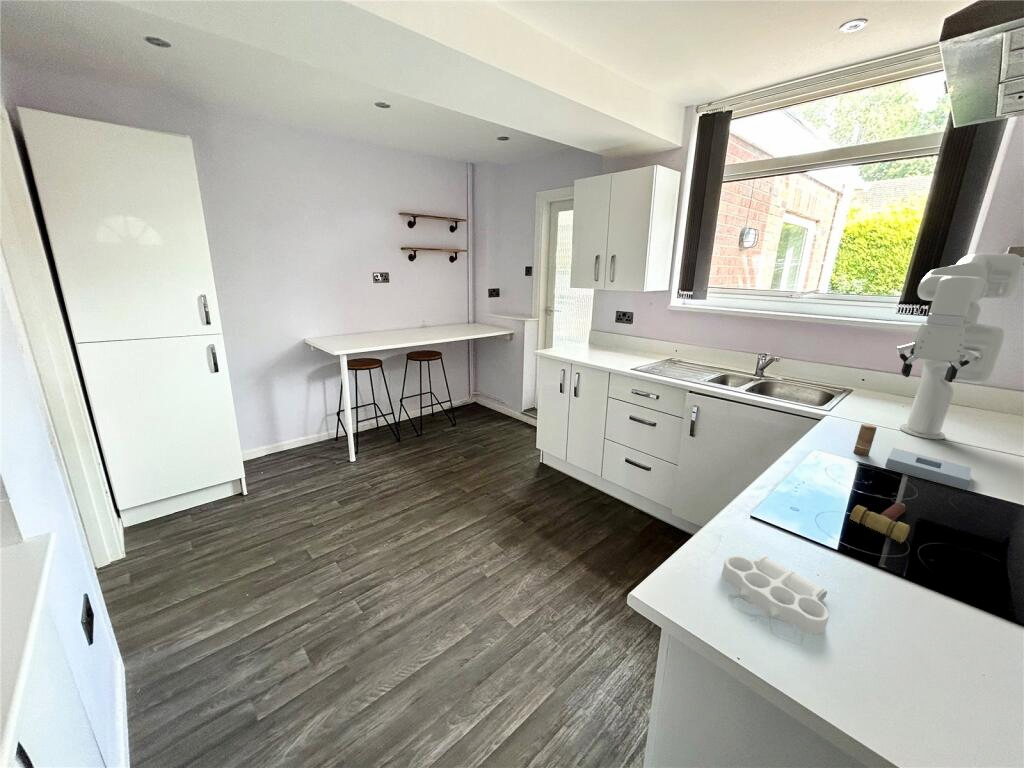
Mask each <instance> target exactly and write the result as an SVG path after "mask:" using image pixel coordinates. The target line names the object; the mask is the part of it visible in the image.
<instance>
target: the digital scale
mask: <svg viewBox="0 0 1024 768" xmlns="http://www.w3.org/2000/svg"><path fill="white" fill-rule="evenodd" d="M885 466H886V467H885V468H888V467H889V468H888V469H891V468H892V470H896V471H899V472H902V473H906V474H910V475H912V476H916V477H920V478H924V479H927V480H931V481H934V482H938V483H940V484H945V485H949V486H952V487H955V488H958V489H962V490H965V491H966V490H968V486H969V484H970V480H971V472H972V471H971V469H972V467H970V466H966V465H962V464H958V463H954V462H951V461H946V460H944V459H943V460H942V459H938V458H934V457H931V456H928V455H923V454H919V453H916V452H912V451H907V450H904V449H900V448H896V447H893V448H892V450H891V451H890V453H889V455H888V457H887V460H886V463H885Z"/></svg>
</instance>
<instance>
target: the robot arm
mask: <svg viewBox="0 0 1024 768" xmlns="http://www.w3.org/2000/svg"><path fill="white" fill-rule="evenodd" d="M1023 270H1024V260H1023V258H1022V257H1021V256H1020V255H1019V254H1016V253H987V252H986V253H972V254H968V255H965V256H964V257H962V258H960V259H959V260H958V261H957V262H956V264H954V265H949V266H943V267H939V268H938V267H937V268H935V269H931V270H930V271H929V272H927V273H926V274H925V276H924V277H923V278H921V280H920V283H919V284H918V287H917V296H918V298H920V299H921V300H923V301H928V302H929V301H932V302H931V307H930V309H929V312H928V316H927V318H926V322H925V323H921V324H920V325H919V328H918V330H917V331H916V333H915V335H914V338H913V340H912V342H911V343H908V344H904V345H900V346H897V347H896V352H897V355H898V357H899V358H900V359H901V360H902V362H903V364H902V367H901V371H900V372H901V375H902V376H903V377H905V378H909V377H910V375H911V371H912V369H913V362H915V361H916V360H923V362H922V367H921V369H922V370H921V377H920V380H919V384H918V387H917V391H916V394H915V398H914V400H913V404H912V406H911V410H910V412H909V416H908V418H907V422H906V424H905V423H903V424H900V426H899V429H900V430H901V431H902V432H904V433H906V434H909V435H912V436H915V437H919V438H922V439H923V438H924V439H927V440H944V439H945V438H946V434H945V433H944V432H942V430H943V429H942V428H943V425H944V422H945V419H946V417H947V414H948V412H949V408H950V406H951V402H952V399H953V396H954V394H955V393H954V388H953V387H952V385H951V384H950V383H953V381H957V382H962V383H963V382H964V383H970V384H978V385H979V384H980V385H982V384H986V382H988V380H989V379H990V377H991V376H992V374H993V371H994V368H995V366H996V364H997V363H996V362H997V360H998V357H999V354H1000V351H1001V349H1002V346H1003V343H1004V339H1005V338H1004V337H1005V332H1004V331H1005V330H1004V329H1003V328H1002V327H1000V326H997V325H992V324H991V325H990V324H981V323H978V320H979V316H980V314H981V311H982V310H981V306H980V305H979V301H981V299H983V298H984V299H985V298H986V299H988V298H989V299H1007V298H1009V297H1011V296H1013V294H1014V293H1015V292H1016V291H1017V290H1018V287H1019V284H1020V281H1021V277H1022V274H1023ZM907 350H909V351H908V355H906V354H905V351H907ZM973 352H974V353H973ZM975 353H976V354H978V355H976V354H975Z"/></svg>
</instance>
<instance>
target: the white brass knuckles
mask: <svg viewBox="0 0 1024 768" xmlns="http://www.w3.org/2000/svg"><path fill="white" fill-rule="evenodd" d="M736 569H737V570H736ZM721 572H722V573H721V574H722V578H723V579H724V581H726V582H727V583H730V584H731V585H732V586H733V587H735V588H736V589H737V591H738V592H739V595H740V596H742V597H743V598H744V599H745V600H746V601H747V602H749V603H751V604H753V605H756V606H758V607H759V608H760V609H762V610H763V611H764V612H765V614H766V615H769V616H770V617H773V618H774V619H777V620H779V621H782V622H783V621H784V622H787V623H790V624H791V625H794V626H795V627H797V628H798V629H799V630H800V631H801V632H804V633H806V634H809V635H810V633H811V635H821V634H820V633H822V634H823V633H825V630H826V628H827V624H828V623H829V617H830V614H829V611H828V609H827V607H826V606H825V605H824V604H823V603H822V602H823V601H824V600H825V598H826V597H827V594H828V590H826V589H825V588H823V587H821V586H819V585H817V584H815V583H814V582H812V581H811V580H809V579H807V578H805V577H804V576H801V575H800V574H798V573H797V572H795V571H793V570H792V569H789V568H787V567H785V565H782V564H780V563H779V562H776V561H775V560H773V559H771V558H770V557H768V556H767V555H764V554H761V555H759V556H758V557H757V558H755V559H749V558H746V557H744V556H740V555H739V556H738V555H729V556H727V557H726V558H725V559H724V562H723V568H722V571H721ZM781 602H782V603H781ZM783 603H784V604H783Z"/></svg>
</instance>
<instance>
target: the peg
mask: <svg viewBox="0 0 1024 768" xmlns="http://www.w3.org/2000/svg"><path fill="white" fill-rule="evenodd" d="M876 432H877V426H875V425H872V424H868V423H866V424H865V423H861V424H860V427H859V431H858V435H857V438H856V442H855V446H854V449H853V454H855V455H856V456H860V457H869V456H870V452H871V449H872V445H873V443H874V439H875V436H876Z"/></svg>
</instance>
